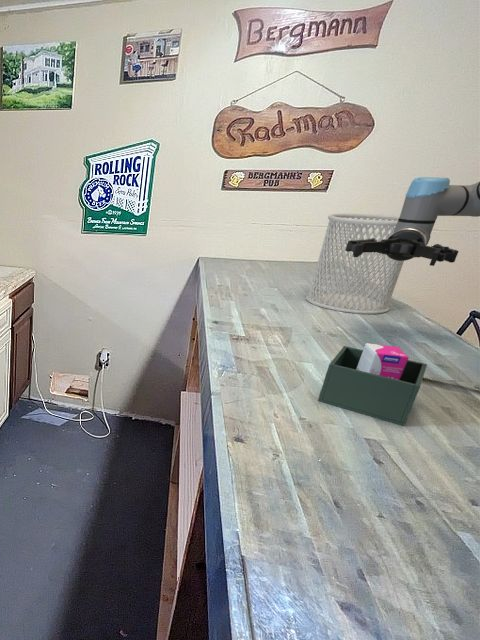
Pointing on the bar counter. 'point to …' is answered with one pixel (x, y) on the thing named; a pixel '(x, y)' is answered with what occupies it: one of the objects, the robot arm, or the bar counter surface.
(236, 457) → the bar counter surface
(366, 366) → the supplement box
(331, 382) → the bin
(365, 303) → the wastebasket
